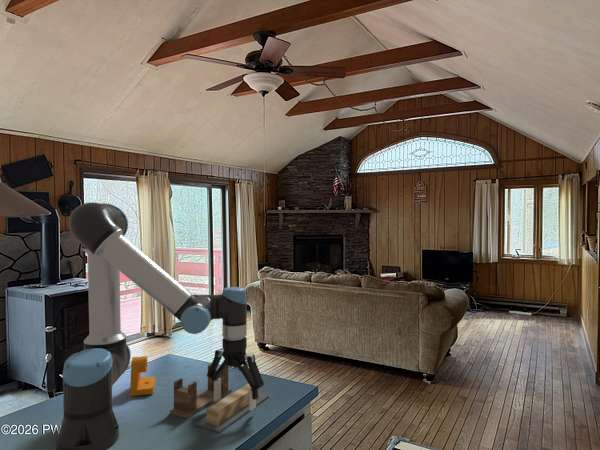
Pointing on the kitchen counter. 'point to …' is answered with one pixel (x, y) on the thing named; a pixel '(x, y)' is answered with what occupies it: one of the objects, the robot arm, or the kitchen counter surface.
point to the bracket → (196, 396)
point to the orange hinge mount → (137, 383)
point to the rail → (229, 405)
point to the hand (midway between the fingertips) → (234, 404)
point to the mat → (231, 419)
